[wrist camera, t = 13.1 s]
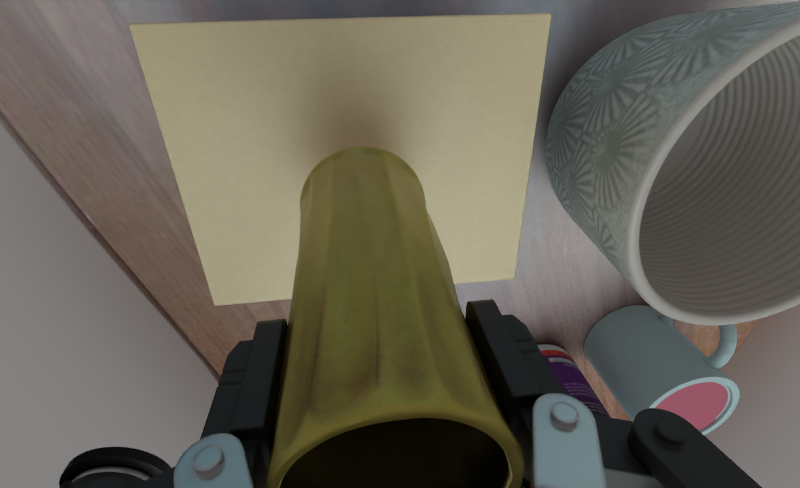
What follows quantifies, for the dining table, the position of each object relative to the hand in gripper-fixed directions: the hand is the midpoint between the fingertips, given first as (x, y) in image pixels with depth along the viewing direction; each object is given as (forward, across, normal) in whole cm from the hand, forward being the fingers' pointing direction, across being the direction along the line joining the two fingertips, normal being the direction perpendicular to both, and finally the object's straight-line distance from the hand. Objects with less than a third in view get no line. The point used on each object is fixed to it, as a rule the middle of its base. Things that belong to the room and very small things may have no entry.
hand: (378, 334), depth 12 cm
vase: (+10, 0, 0) cm, 10 cm away
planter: (+22, -21, 0) cm, 31 cm away
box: (+22, 0, 0) cm, 22 cm away
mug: (+22, -29, +22) cm, 43 cm away
